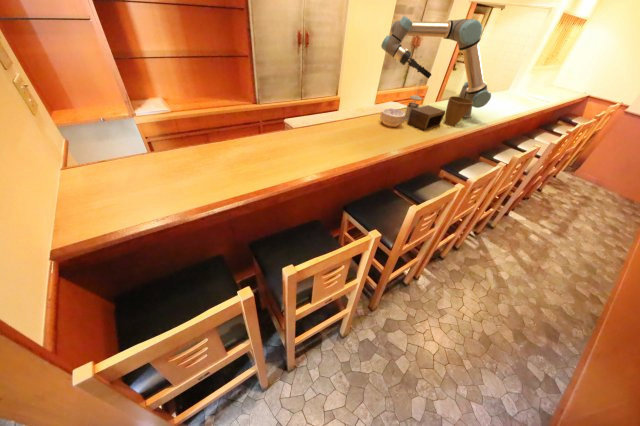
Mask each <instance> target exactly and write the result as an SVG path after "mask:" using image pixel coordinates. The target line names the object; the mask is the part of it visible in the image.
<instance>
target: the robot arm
mask: <svg viewBox="0 0 640 426" xmlns="http://www.w3.org/2000/svg"><path fill="white" fill-rule="evenodd" d="M390 32H391V35H386V36H385V38H384V39H383V40H382V42H381V46H380V47H381V49H382V50H383V51H384V52H385V53H387V54H388V55H389V56H390V57H392V58H394V61H397V62H399V64H401V65H402V66H405V65H406V64H407V63H408V64H407V65H408V66H409V67H411V68H413V69H415V70H417V73H420V74H421V75H423V76H424V77H425V78H427V79H430V78H431V76H432V73H431V72H430V71H428V70H427V69H426V68H425V67H424V66H422V65H420V64H419V63H418V62H417V61H416V59H414V58H413V57H412V55H413V53H412V52H411V51H410V50H408V49H407V48H406V47H405V46H404V45H402V44H401V43H402V42H403V40H404V39H405V38H406V36H407V37H431V38H433V37H435V38H443V40H451V41H454V42H457V46H458V51H460V52H462V57H463V62H464V63H463V64H464V69H465V72H466V73H465V74H466V80H467V81H465V82H464V84H463V86H462V88H461V90H460V91H459V92H460V93H459V95H458V97H461V98H465V99H468V100H471V101H472V102H473V104H472V105H471V107H470V108H469V110H468V111H467V112H466V114H465V115H464V116H463V118H464V119H468V118H470V117H471V115H472V111H473V108H476V109H478V108H482V107H485V106H486V105H487V104H488V103H489V102H490V100H491V98H492V93H491V91H490V90H489V89H488V83H487V82H486V81H484V76H483V67H482V62H481V53H480V46H479V44H480V43H481V41H482V39H481V36H482V34H483V25H482V23H481V22H480V21H479V20H477V19H475V18H470V19H469V18H461V19H453V20H452V19H450V20H448V21H421V20H420V21H418V20H417V21H416V20H415V21H414V20H411V19H410V18H408V17H407V16H405V15H404V16H402V17H401V18H400V20H395V21H394V22H393V23H392V24H391V27H390ZM463 118H462V119H463Z"/></svg>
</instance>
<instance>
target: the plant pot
mask: <svg viewBox="0 0 640 426" xmlns="http://www.w3.org/2000/svg"><path fill="white" fill-rule="evenodd" d="M472 104H473V102H472V101H471V100H468V99H465V98H461V97H459V96H454V95H453V96H449V98H448V101H447V106H446V109H445V115H444V116H445V118H444V123H445V124H446V125H448V126H457V124H459V122H460V121H461V120H462V119H463V116H464V115H465V114H466V112H467V111H468V110H469V108H470V107H471V105H472Z"/></svg>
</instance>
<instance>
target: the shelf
mask: <svg viewBox="0 0 640 426" xmlns="http://www.w3.org/2000/svg"><path fill="white" fill-rule="evenodd" d="M445 115H446V110H443V109H440V108H437V107H434V106H431V105H423V106H418V108H414V109H412V111H411V114H410V117H409V120H407V122H406V124H407V125H408V126H409V127H410V126H411V127H413V128H415V129H418V130H420V131H423V132H425V131H429V130H432V129H435V128H439V127H440V126H441V123H442V121H443V119H444V116H445Z"/></svg>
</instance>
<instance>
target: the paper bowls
mask: <svg viewBox="0 0 640 426" xmlns="http://www.w3.org/2000/svg"><path fill="white" fill-rule="evenodd" d="M379 119H380V120H381V121H382V124H383V125H385V126H387V127H391V128H395V127H396V128H397V127H398V126H400V125H401V124H403V123H404V122H405V111H403V110H400V109H396V108H391V107H390V108H388V107H387V108H383V109H381V112H380V117H379Z"/></svg>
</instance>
